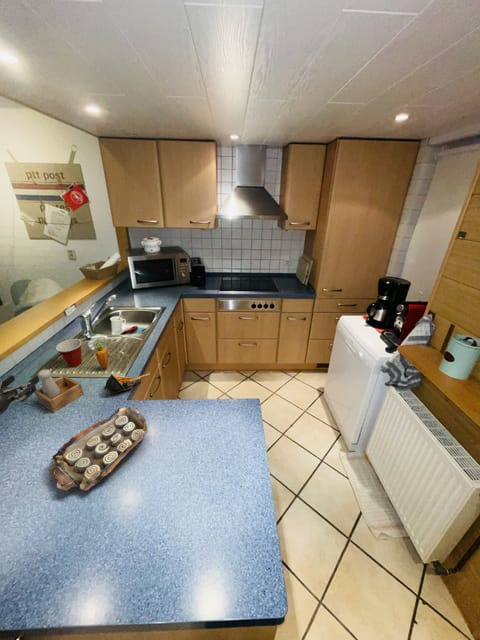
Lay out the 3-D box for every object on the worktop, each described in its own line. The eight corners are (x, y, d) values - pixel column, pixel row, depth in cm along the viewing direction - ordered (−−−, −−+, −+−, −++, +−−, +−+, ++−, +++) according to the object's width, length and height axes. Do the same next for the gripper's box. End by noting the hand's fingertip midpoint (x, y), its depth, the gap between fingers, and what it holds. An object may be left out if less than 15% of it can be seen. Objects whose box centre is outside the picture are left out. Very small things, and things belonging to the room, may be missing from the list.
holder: (54, 412, 99) (49, 401, 96) (38, 401, 104) (33, 391, 101) (84, 394, 108) (80, 384, 106) (67, 385, 113) (64, 375, 111)
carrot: (108, 372, 122) (102, 345, 116) (98, 372, 122) (90, 346, 116) (112, 366, 127) (106, 340, 120) (102, 366, 126) (95, 340, 120)
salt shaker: (64, 391, 108) (55, 366, 103) (58, 400, 103) (48, 375, 97) (49, 393, 107) (39, 368, 101) (42, 402, 102) (31, 377, 96)
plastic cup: (58, 372, 122) (51, 351, 117) (67, 359, 131) (61, 339, 126) (83, 369, 124) (76, 348, 119) (90, 357, 134) (84, 337, 128)
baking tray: (81, 512, 67) (76, 500, 65) (38, 474, 76) (32, 462, 74) (162, 432, 91) (160, 421, 89) (122, 409, 100) (119, 399, 98)
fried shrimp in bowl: (97, 381, 109) (133, 354, 118) (114, 399, 112) (147, 372, 121) (101, 385, 101) (138, 356, 110) (118, 404, 105) (153, 375, 114)
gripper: (2, 403, 72) (42, 369, 86) (-48, 402, 71) (0, 368, 86) (12, 422, 75) (49, 386, 90) (-37, 421, 75) (8, 385, 89)
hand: (25, 377), depth 88 cm, fingers open, 8 cm apart
